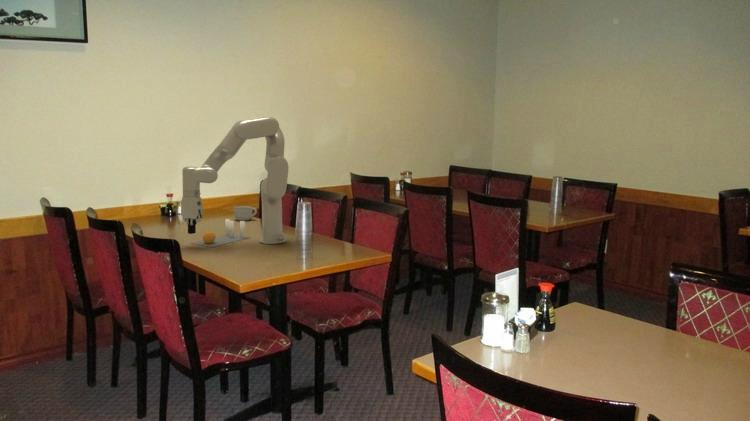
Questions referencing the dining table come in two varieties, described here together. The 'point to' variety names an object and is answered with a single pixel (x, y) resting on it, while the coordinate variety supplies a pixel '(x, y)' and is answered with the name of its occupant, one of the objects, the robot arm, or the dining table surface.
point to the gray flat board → (220, 241)
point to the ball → (209, 237)
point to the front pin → (231, 229)
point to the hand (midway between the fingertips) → (191, 233)
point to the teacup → (244, 213)
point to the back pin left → (242, 229)
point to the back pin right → (227, 226)
